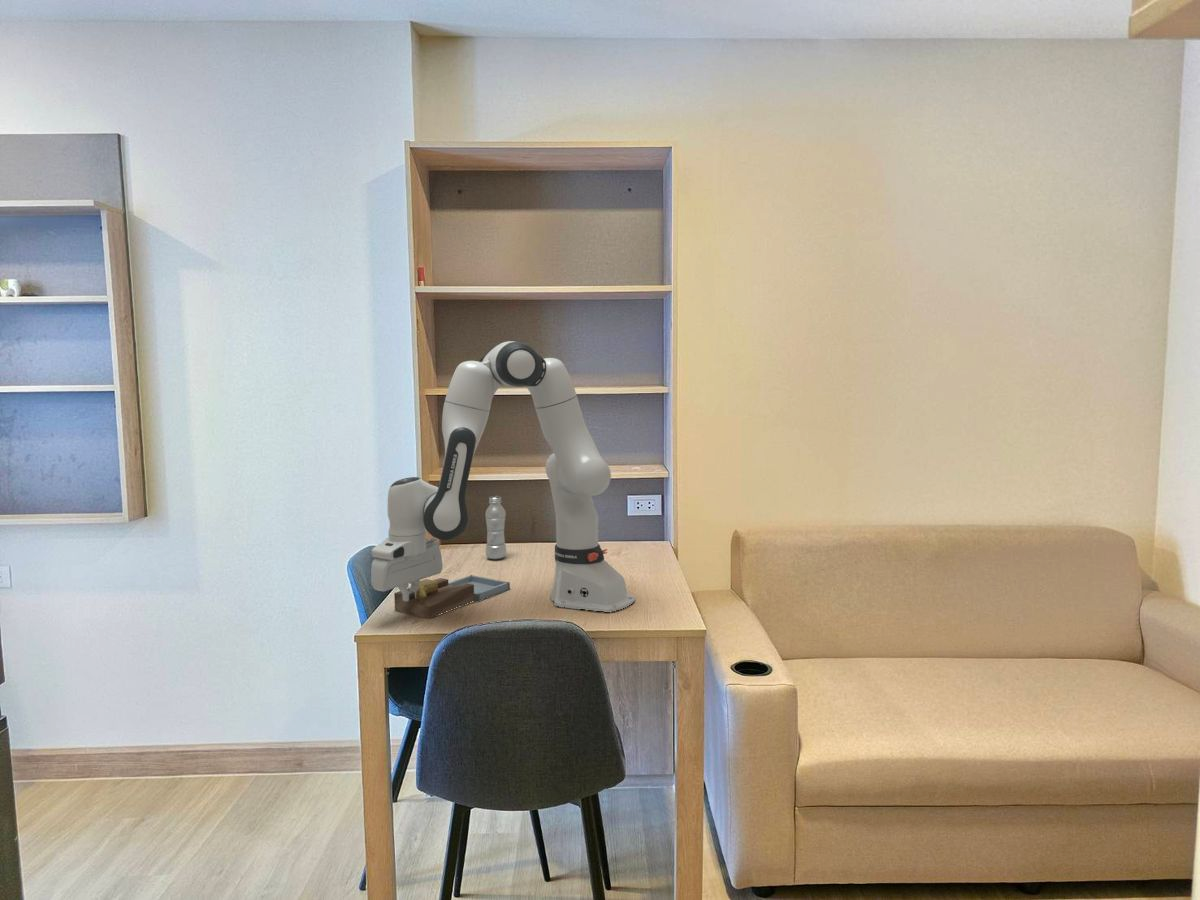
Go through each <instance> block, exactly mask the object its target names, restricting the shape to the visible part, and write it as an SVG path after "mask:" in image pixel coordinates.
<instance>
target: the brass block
mask: <svg viewBox="0 0 1200 900" xmlns="http://www.w3.org/2000/svg"><path fill="white" fill-rule="evenodd" d="M433 580H434V579H433ZM433 580H432V579H428V578H424V579H421V580H420V585H419V587H418V589H417V592H416V598H415V599H421V598H424V597H427V596H430V595H432V594H435V593H438V583H437V581H433Z"/></svg>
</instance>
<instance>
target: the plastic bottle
mask: <svg viewBox="0 0 1200 900" xmlns="http://www.w3.org/2000/svg"><path fill="white" fill-rule="evenodd" d="M501 503H502V496H499V495H492V496H489V499H488V504H489V505H488V507H487V509H486V510H485V515H484V516H485V517H484V518H485V523H486V530H487V531H486V532H487V533H486V534H487V536H486V547H485V555H486V557H487V559H489V560H500V559H504V558H505V557H506V556H507V555H506V553H507V546H506V540H505V539H506V538H505V523H506V515H507V514H506V510H505V508H504V506H503V505H502V504H501Z"/></svg>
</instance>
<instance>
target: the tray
mask: <svg viewBox="0 0 1200 900" xmlns="http://www.w3.org/2000/svg"><path fill="white" fill-rule="evenodd" d="M464 583H468V584H473V585H474V602H476V601H479V602H481V601H480V600H482V599H484V600H486V599H485V598H487V597H489V598H491V597H490V596H492V597H494V596H497V595H499V594H502V593H504V591H505V592H507V591H509V590H510V589H511V588H510V587H511V583H510V581H505V580H501V579H495V578H489V577H484V576H478V575H473V574H471V575H467V576H464V577H461V578H459V579H455V580H452V581H448V584H449V585H451V586H458V585H461V584H464ZM506 590H507V591H506ZM501 592H502V593H501ZM498 593H499V594H498ZM496 594H497V595H496ZM493 595H494V596H493ZM487 599H488V598H487ZM482 601H483V600H482Z"/></svg>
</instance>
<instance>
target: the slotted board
mask: <svg viewBox="0 0 1200 900" xmlns="http://www.w3.org/2000/svg"><path fill="white" fill-rule="evenodd" d="M433 581H437V583H438V593H435V594H432V595H430V596H427V597H424V598H421V599H412V600H409V601H403V596H402V593H401V591H400V590H399V591H396V592H394V597H393V598H394V611H396V612H400V613H403V614H408V615H411V614H412V615H413V616H415V615H416V617H419V616H420V618H424V617H425V618H424V619H428V618H431V619H432V617H433V618H435V617H434V616H436V617H438V616H440V615H439V614H441V613H443V614H445V613H444V612H446V611H449V610H451V609H454V608H456V607H459V606H462V605H464V606H466V605H465V604H467V603H469V604H471V603H470V602H472V601H474V585H473V584H468V583H464V584H461V585H458V586H451V585H449V584H448V583H449V579H448V578H443V577H442V578H441V577H439V578H436V579H433ZM407 590H408V591H409V590H410V587H408V588H407ZM474 602H475V601H474ZM472 603H473V602H472ZM467 605H468V604H467ZM462 607H463V606H462ZM459 608H460V607H459ZM456 609H457V608H456ZM454 610H455V609H454ZM451 611H452V610H451ZM449 612H450V611H449ZM446 613H447V612H446ZM437 615H438V616H437ZM441 615H442V614H441Z"/></svg>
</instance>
